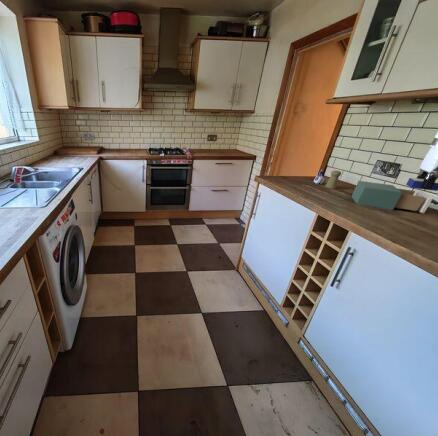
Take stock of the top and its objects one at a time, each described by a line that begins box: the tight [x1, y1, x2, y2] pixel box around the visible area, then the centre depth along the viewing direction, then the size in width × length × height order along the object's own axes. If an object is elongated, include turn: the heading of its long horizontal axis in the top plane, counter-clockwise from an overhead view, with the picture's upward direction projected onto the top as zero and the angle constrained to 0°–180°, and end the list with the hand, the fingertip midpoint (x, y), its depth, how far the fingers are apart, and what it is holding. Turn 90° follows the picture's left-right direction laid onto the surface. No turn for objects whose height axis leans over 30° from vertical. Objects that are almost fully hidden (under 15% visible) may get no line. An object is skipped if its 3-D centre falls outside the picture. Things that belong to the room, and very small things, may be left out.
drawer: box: [394, 187, 438, 214], centre depth 117 cm, size 18×13×8 cm
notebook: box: [405, 177, 438, 192], centre depth 98 cm, size 8×6×3 cm
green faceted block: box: [351, 180, 402, 211], centre depth 123 cm, size 15×15×10 cm
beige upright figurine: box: [324, 169, 342, 190], centre depth 148 cm, size 6×6×11 cm
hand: (421, 186), depth 99 cm, fingers closed on notebook, 5 cm apart
